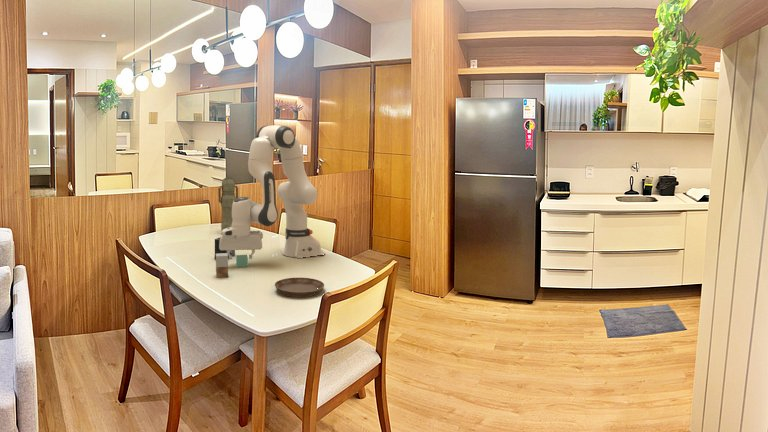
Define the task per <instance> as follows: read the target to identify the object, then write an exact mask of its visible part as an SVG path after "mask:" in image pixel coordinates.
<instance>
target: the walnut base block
mask: <svg viewBox="0 0 768 432" xmlns="http://www.w3.org/2000/svg"><path fill="white" fill-rule="evenodd" d="M215 272H216V273H215V275H216V278H217V279H218V278H219V279H221V278H229V266H228V267H216V266H215Z"/></svg>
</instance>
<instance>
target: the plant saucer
mask: <svg viewBox="0 0 768 432" xmlns="http://www.w3.org/2000/svg"><path fill="white" fill-rule="evenodd" d="M274 287H275V289H276V290H277V291H278V292H279V293H280V294H282V295H283V296H287V297H291V298H306V297H307V296H308V297H313V296H315V294H316V295H318V294H319V293H320V292H321V291H323V289H324V287H325V283H324V282H322V281H321V280H319V279H315V278H310V277H287V278H282V279H280V280H277V281H276V282H275V283H274ZM317 288H318V289H317ZM312 295H313V296H312ZM308 297H307V298H308Z"/></svg>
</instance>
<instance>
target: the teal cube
mask: <svg viewBox="0 0 768 432" xmlns="http://www.w3.org/2000/svg"><path fill="white" fill-rule="evenodd" d="M235 258H236V259H235V261H236V262H235V264H236V268H248V267H249V266H248V263H249V261H248V259H249V256H248V254H235Z"/></svg>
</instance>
